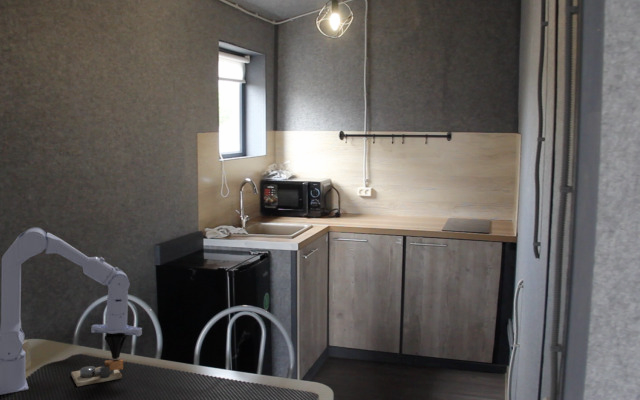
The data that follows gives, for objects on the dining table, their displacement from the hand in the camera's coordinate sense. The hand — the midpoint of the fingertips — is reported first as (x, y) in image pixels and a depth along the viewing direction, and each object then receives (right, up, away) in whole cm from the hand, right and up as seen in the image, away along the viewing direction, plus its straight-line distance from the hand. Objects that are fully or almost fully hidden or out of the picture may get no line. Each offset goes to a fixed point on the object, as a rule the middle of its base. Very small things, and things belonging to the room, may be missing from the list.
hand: (115, 357), depth 158 cm
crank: (-3, -4, -3) cm, 6 cm away
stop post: (-2, -5, -4) cm, 7 cm away
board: (-5, -5, -2) cm, 7 cm away
